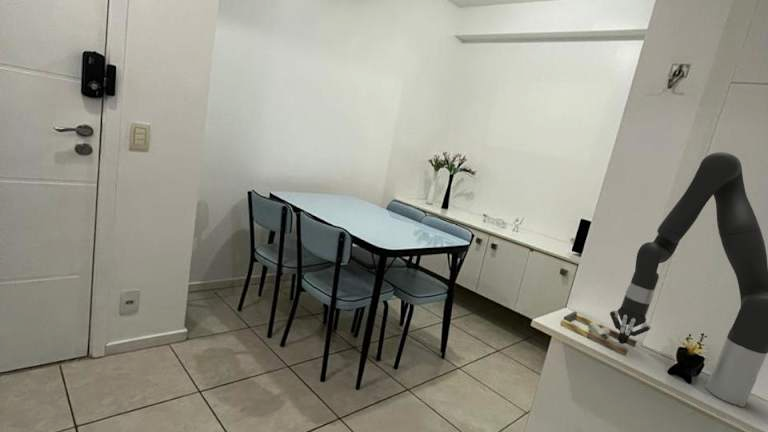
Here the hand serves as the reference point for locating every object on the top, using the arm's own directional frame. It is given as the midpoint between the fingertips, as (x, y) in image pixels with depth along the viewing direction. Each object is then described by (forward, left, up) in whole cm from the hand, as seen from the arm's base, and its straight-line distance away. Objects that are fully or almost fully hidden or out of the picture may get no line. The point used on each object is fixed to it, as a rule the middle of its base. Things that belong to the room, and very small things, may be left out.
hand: (621, 342), depth 140 cm
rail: (+8, 0, -1) cm, 8 cm away
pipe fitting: (+6, 0, -2) cm, 7 cm away
